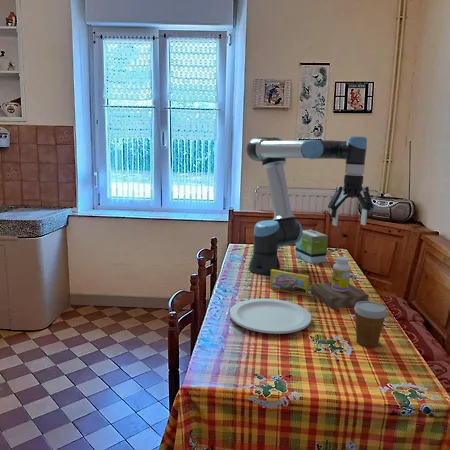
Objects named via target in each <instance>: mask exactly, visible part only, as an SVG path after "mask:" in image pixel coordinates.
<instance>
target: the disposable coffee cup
mask: <svg viewBox="0 0 450 450" xmlns="http://www.w3.org/2000/svg"><path fill="white" fill-rule="evenodd" d="M386 308H387V307H386V306H385V305H383V304H381V303H379V302H375V301H372V300H371V301H370V300H368V301H360V302H357V303H356V306H353V309H354V312H355V333H356V335H355V336H356V343H357V344H358V345H360V346H362V347H365V348H376V347H378V345H379V341H380V337H381V333H382V330H383V325H384V322H385V318H386V316H387V315H388V311H387V309H386Z"/></svg>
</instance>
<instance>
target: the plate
mask: <svg viewBox="0 0 450 450" xmlns="http://www.w3.org/2000/svg"><path fill="white" fill-rule="evenodd" d="M229 316H230V319H231V320H232V321H233V322H234V324H236V325H238V326H240V327H242V328H245V329H246V330H250V331H254V332H258V333H261V334H262V333H263V334H277V335H278V334H279V335H280V334H281V335H282V334H283V335H284V334H291V333H296V332H300V331H302V330H304V329H306V328H307V327H309V326H310V324H311V323H312V315H311V313H310V312H309V310H308V309H306V308H305V307H303V306H301V305H299V304H297V303H294V302H290V301H287V300H282V299H278V298H277V299H276V298H252V299H245V300H242V301H239V302H237V303H235V304H234V305H233V306H232V307H231V308H230V310H229Z"/></svg>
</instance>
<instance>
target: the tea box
mask: <svg viewBox="0 0 450 450" xmlns="http://www.w3.org/2000/svg"><path fill="white" fill-rule="evenodd" d="M328 240H329V235H327V234H324V233H322V232H319V231H316V230H314V229H305V230H304V229H303V233H302V237H301V239H300V240H299V241H298V242H297V243H295V247H294V248H295V251H294V257H297V258H299V259H300V260H302V261H305V262H307V263H309V264H311V265H312V264H313V265H314V264H320V263H326V262H327V254H328V253H327V252H328Z"/></svg>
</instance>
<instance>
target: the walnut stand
mask: <svg viewBox="0 0 450 450" xmlns="http://www.w3.org/2000/svg"><path fill="white" fill-rule="evenodd" d="M331 284H332V282H323V283H322V282H320V283H312V284H311V285H310V295H312V296H313V297H314V298H316V299H317V300H319V301H320V302H321V303H322V304H324V305H326V306H327V307H328V308H330V309H340V308H349V307H355V306H356V303H357V302H360V301H370V300H369V299H370V298H369V297H370V295H369V294H367V292H364V291H363V290H361V289H359V288H357V287H355V286H354V285H352V284H351V283H349V289H348V291H346V292H338V291H335V290H333V289H332V288H331Z"/></svg>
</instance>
